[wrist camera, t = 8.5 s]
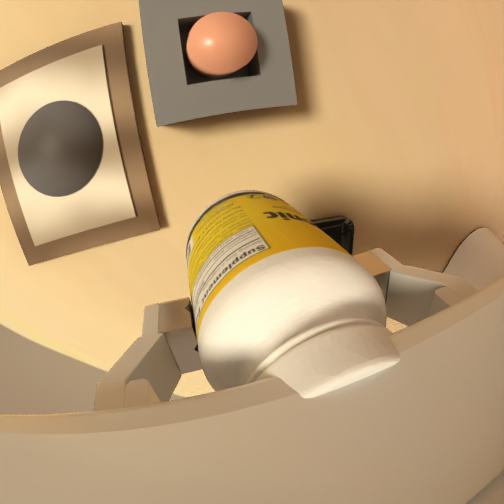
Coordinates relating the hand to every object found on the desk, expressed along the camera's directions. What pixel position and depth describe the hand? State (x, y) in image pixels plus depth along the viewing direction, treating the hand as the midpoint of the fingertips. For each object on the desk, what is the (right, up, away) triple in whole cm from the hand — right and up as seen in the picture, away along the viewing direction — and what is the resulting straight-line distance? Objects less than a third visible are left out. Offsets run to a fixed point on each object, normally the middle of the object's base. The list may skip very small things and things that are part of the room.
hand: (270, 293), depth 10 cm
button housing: (-3, +15, +8) cm, 18 cm away
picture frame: (-14, +9, +8) cm, 19 cm away
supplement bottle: (-1, +2, +4) cm, 4 cm away
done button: (-3, +15, +6) cm, 16 cm away
